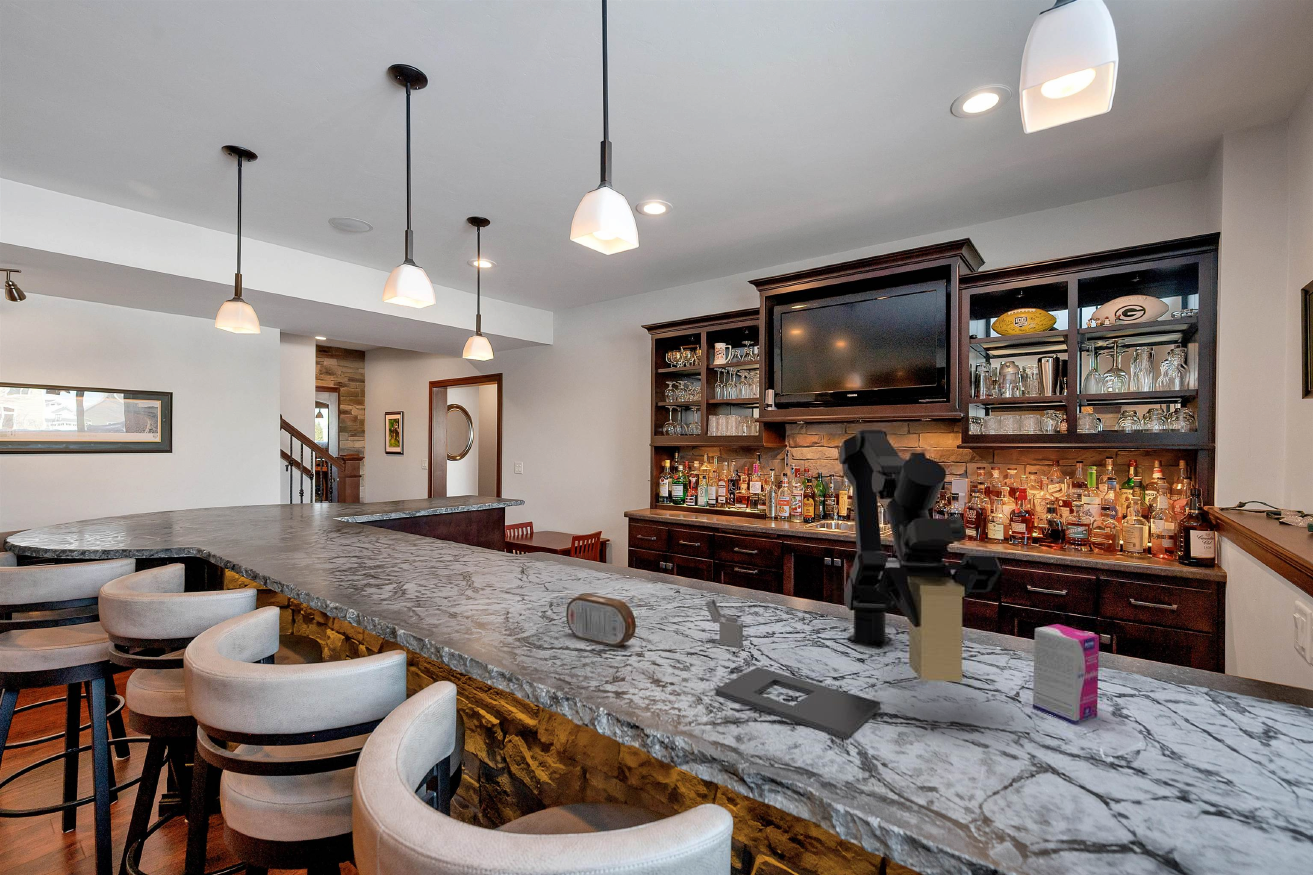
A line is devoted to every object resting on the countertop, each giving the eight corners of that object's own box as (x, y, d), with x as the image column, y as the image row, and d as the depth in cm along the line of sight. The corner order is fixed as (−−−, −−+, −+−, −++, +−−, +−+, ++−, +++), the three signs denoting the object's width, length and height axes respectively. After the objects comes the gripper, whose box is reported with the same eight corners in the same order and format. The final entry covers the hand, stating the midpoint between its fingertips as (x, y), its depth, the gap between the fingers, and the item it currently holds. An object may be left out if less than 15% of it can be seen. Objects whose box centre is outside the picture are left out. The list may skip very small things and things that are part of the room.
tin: (636, 647, 107) (637, 601, 107) (626, 652, 104) (627, 604, 104) (573, 632, 115) (574, 589, 115) (563, 636, 112) (563, 592, 113)
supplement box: (1077, 726, 78) (1076, 639, 78) (1031, 708, 83) (1031, 627, 83) (1100, 717, 80) (1100, 633, 81) (1054, 700, 86) (1054, 622, 86)
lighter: (743, 645, 108) (743, 602, 109) (739, 647, 107) (740, 604, 107) (708, 638, 112) (708, 597, 112) (704, 641, 110) (704, 599, 110)
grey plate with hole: (757, 671, 95) (757, 666, 96) (880, 707, 83) (880, 702, 83) (715, 694, 86) (715, 689, 86) (846, 739, 73) (846, 732, 73)
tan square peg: (907, 664, 81) (907, 576, 81) (948, 666, 80) (948, 577, 80) (920, 680, 75) (920, 585, 75) (964, 682, 75) (964, 587, 75)
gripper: (856, 494, 83) (875, 590, 72) (995, 496, 81) (1037, 596, 70) (845, 540, 91) (860, 634, 80) (971, 544, 89) (1006, 641, 77)
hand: (938, 626), depth 76 cm, fingers closed on tan square peg, 5 cm apart
